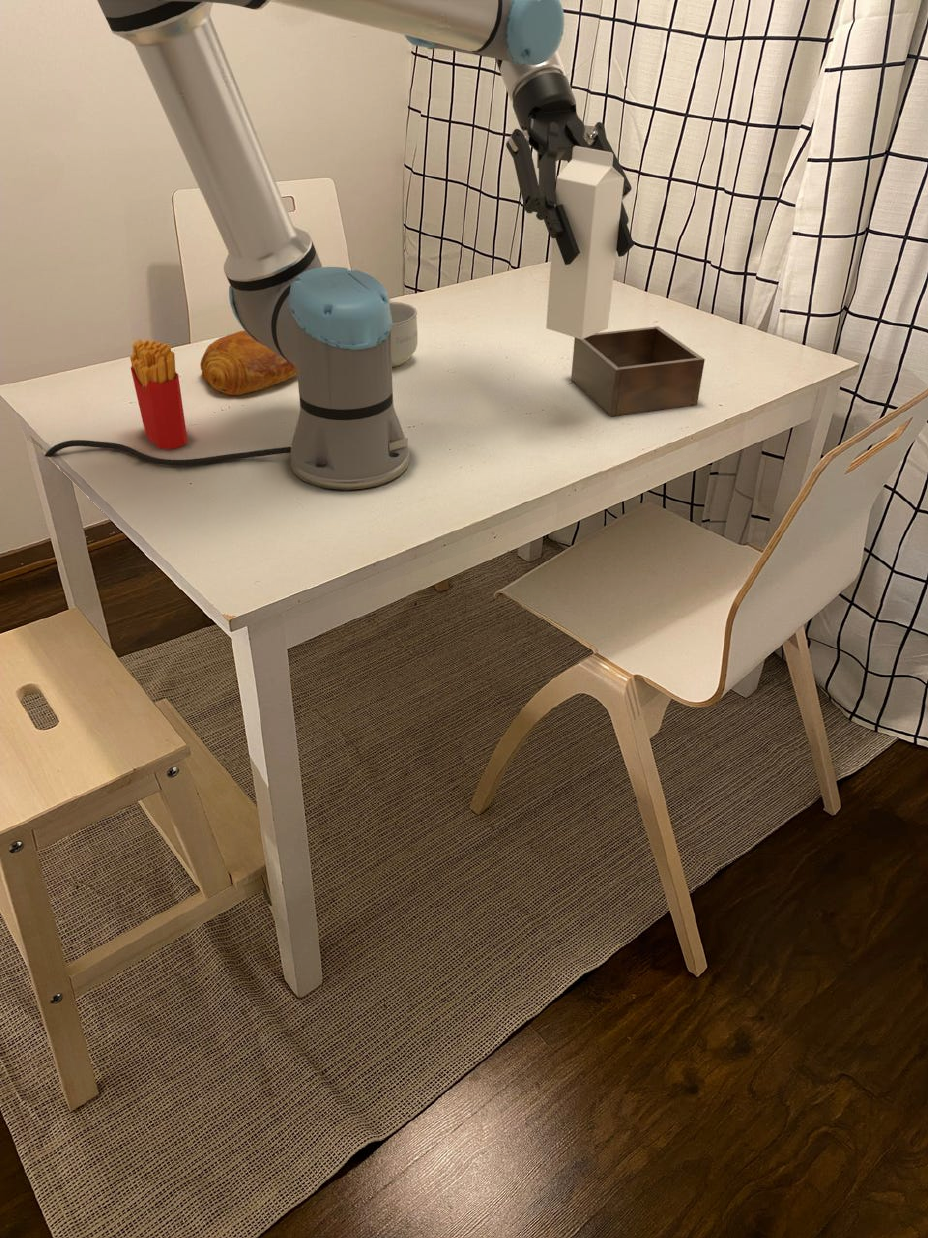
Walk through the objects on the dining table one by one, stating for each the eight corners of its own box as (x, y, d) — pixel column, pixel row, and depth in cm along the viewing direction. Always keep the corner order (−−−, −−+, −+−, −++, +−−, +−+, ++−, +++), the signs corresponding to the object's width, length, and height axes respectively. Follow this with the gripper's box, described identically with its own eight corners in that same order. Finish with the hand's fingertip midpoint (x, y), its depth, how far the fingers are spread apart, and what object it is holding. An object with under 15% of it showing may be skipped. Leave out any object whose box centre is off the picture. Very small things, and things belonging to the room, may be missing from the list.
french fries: (138, 431, 132) (119, 338, 124) (167, 423, 134) (151, 331, 127) (167, 455, 126) (149, 360, 119) (197, 446, 129) (181, 352, 121)
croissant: (318, 390, 149) (321, 339, 145) (232, 405, 139) (232, 351, 135) (263, 362, 157) (265, 312, 153) (178, 374, 147) (177, 322, 143)
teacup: (408, 376, 149) (407, 325, 144) (341, 370, 150) (338, 319, 146) (429, 344, 160) (428, 296, 155) (366, 339, 161) (364, 291, 157)
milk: (581, 340, 126) (598, 156, 112) (545, 328, 129) (557, 148, 116) (608, 328, 129) (628, 149, 116) (572, 317, 132) (587, 141, 119)
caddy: (610, 416, 138) (616, 369, 134) (570, 379, 149) (574, 335, 145) (697, 404, 142) (704, 358, 138) (652, 369, 153) (658, 325, 148)
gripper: (591, 104, 129) (649, 260, 128) (458, 115, 121) (518, 281, 120) (619, 64, 122) (680, 228, 121) (479, 72, 114) (544, 248, 113)
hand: (599, 254), depth 120 cm, fingers closed on milk, 7 cm apart
